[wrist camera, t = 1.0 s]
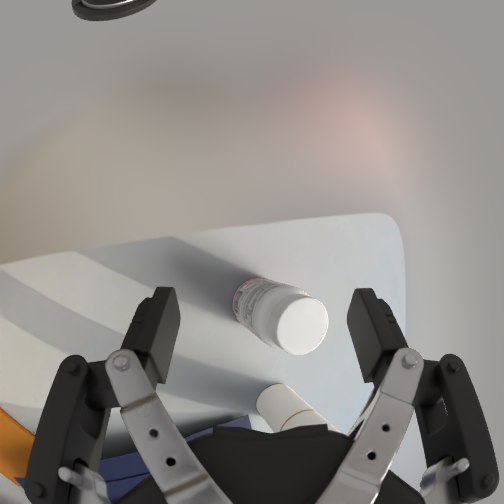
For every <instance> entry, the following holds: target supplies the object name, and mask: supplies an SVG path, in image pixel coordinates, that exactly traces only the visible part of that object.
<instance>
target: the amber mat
mask: <svg viewBox="0 0 504 504" xmlns="http://www.w3.org/2000/svg"><path fill="white" fill-rule="evenodd" d="M34 438H35V436H34V435H33V434H32V433H30V432H29V431H28V430H26V429H25V428H24V427H22V426H21V425H20V424H19V423H17V422H16V421H15V420H14V419H13V418H11V417H10V416H9V415H8V414H7V413H6V412H5V411H3V410H2V409H1V408H0V473H1V474H3V475H4V476H6V477H7V478H8V479H10V480H11V481H12V482H14V483H15V484H17V485H18V486H21V485H20V484H19V483H18V482H17V481H16V480H15V479H14V477H25V476H26V471H27V466H28V462H29V457H30V453H31V449H32V445H33V442H34Z"/></svg>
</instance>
